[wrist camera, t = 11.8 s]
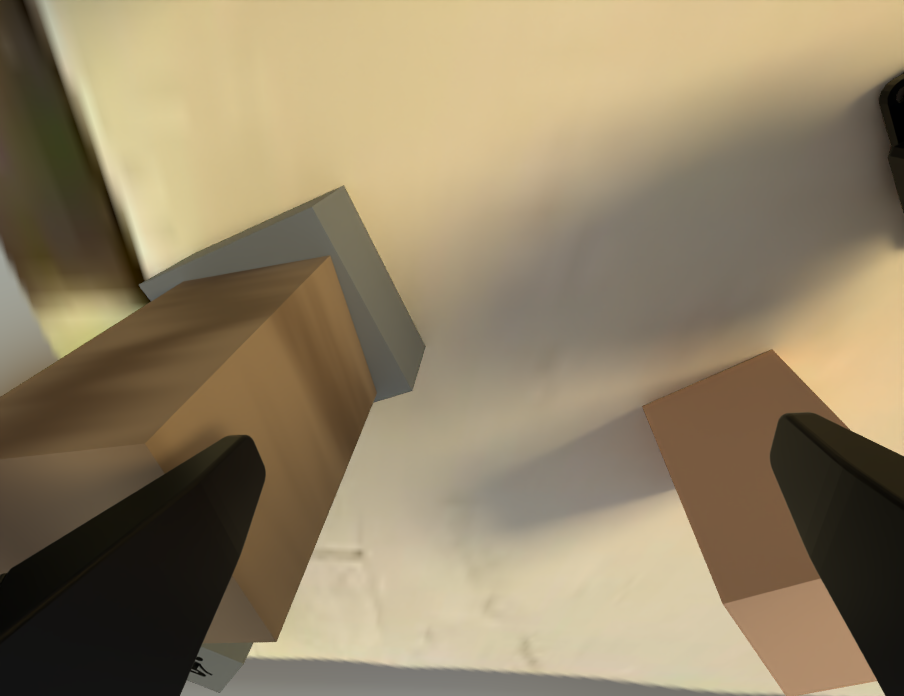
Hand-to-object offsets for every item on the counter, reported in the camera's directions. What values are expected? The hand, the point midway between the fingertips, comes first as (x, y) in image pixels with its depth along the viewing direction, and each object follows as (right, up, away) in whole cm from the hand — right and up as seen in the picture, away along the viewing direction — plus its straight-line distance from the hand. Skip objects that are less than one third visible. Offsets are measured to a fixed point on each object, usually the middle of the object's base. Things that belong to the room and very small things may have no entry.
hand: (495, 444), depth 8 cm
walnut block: (-7, +2, +11) cm, 13 cm away
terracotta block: (+13, -2, +15) cm, 20 cm away
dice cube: (-17, -16, +27) cm, 35 cm away
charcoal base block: (-7, +4, +14) cm, 16 cm away
